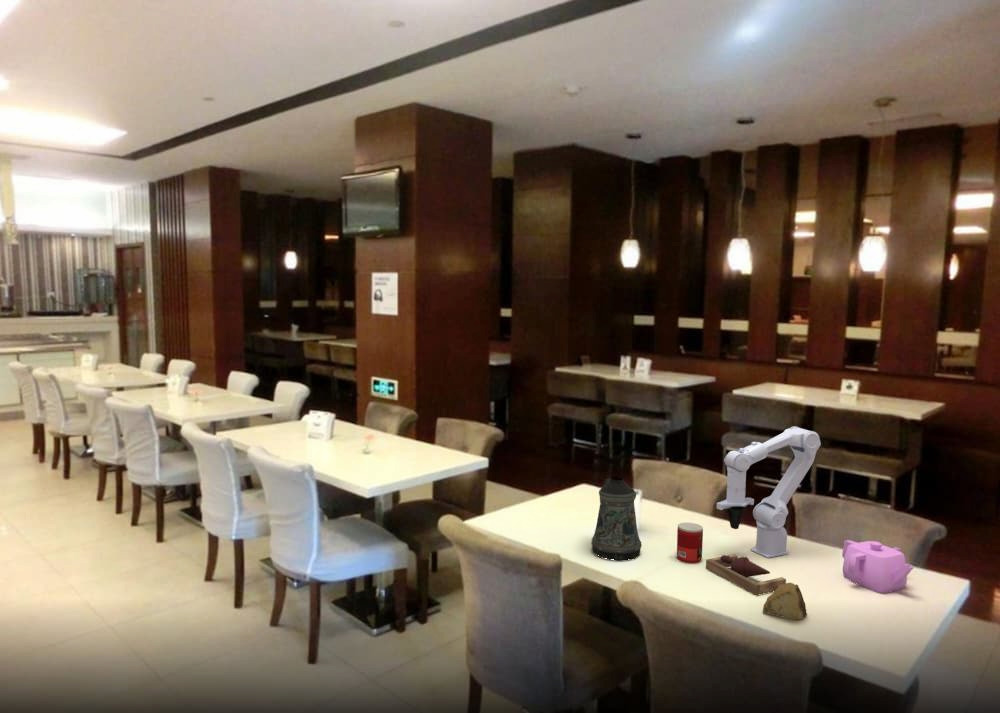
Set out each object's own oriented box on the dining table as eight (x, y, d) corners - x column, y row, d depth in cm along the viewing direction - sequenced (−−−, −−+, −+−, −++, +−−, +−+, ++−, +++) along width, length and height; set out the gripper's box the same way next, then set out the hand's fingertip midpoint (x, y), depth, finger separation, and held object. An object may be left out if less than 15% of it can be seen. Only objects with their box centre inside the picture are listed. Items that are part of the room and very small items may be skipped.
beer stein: (620, 565, 215) (621, 489, 213) (574, 548, 230) (576, 476, 227) (651, 553, 226) (653, 479, 224) (606, 537, 240) (607, 468, 238)
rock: (754, 607, 182) (790, 615, 175) (760, 576, 186) (797, 583, 178) (770, 621, 188) (807, 629, 180) (777, 591, 191) (812, 598, 184)
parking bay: (733, 563, 218) (734, 554, 217) (785, 588, 199) (786, 579, 198) (705, 568, 213) (706, 559, 213) (755, 595, 194) (756, 585, 194)
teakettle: (839, 567, 215) (841, 530, 214) (900, 575, 209) (902, 537, 208) (846, 589, 199) (848, 548, 198) (912, 598, 193) (915, 557, 192)
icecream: (774, 559, 204) (725, 552, 214) (766, 561, 199) (716, 553, 208) (773, 583, 203) (724, 574, 212) (765, 585, 197) (715, 576, 207)
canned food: (702, 564, 216) (704, 531, 215) (677, 562, 218) (678, 529, 217) (700, 555, 224) (701, 523, 223) (675, 553, 226) (676, 521, 225)
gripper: (728, 493, 215) (726, 535, 216) (761, 488, 221) (759, 528, 223) (712, 487, 221) (711, 528, 223) (745, 483, 228) (743, 522, 229)
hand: (734, 528), depth 223 cm, fingers closed
